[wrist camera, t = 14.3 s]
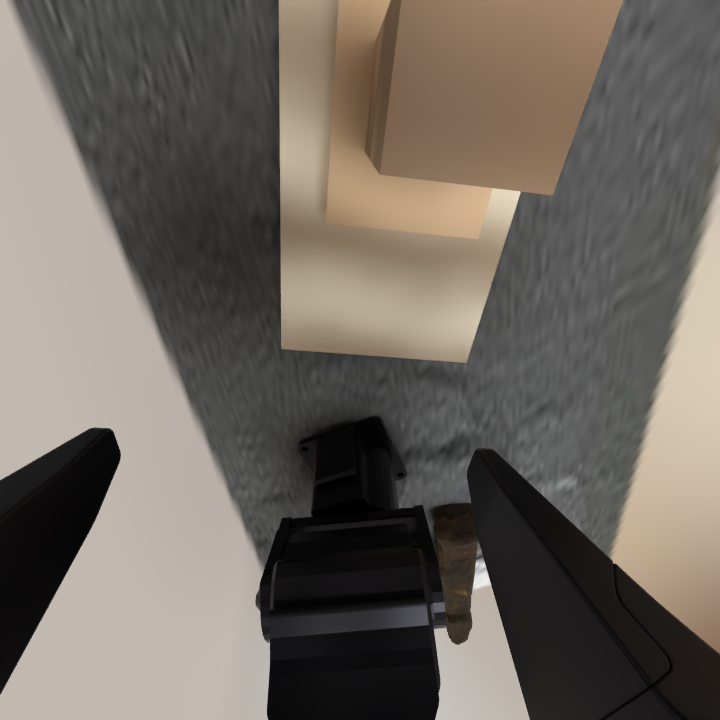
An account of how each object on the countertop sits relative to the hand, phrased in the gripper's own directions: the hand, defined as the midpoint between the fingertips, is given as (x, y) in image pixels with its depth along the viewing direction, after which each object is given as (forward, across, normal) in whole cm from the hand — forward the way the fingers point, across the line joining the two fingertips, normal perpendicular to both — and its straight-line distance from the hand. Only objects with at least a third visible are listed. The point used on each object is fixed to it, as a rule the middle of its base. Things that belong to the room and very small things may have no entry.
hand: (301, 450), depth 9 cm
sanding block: (+10, -3, -8) cm, 13 cm away
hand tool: (+14, -15, +28) cm, 35 cm away
